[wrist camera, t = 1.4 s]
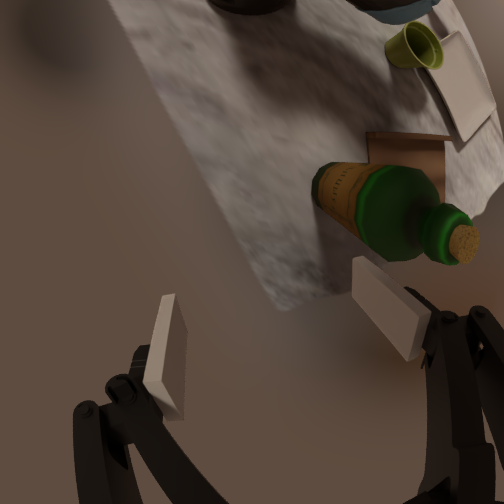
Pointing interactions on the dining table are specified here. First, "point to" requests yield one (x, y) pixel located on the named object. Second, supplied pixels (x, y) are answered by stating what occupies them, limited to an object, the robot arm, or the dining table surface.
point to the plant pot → (415, 47)
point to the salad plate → (462, 86)
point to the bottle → (395, 212)
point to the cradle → (411, 153)
